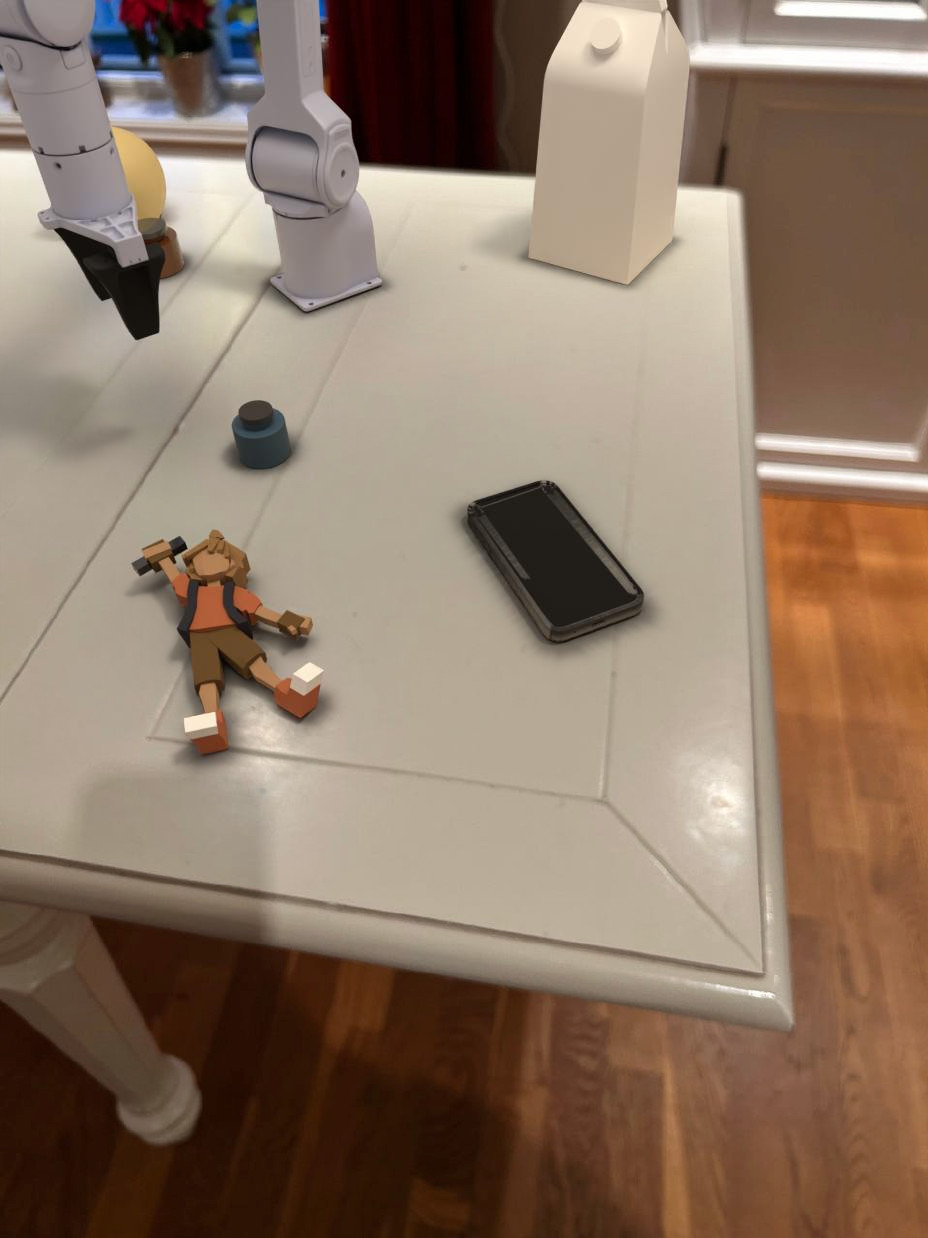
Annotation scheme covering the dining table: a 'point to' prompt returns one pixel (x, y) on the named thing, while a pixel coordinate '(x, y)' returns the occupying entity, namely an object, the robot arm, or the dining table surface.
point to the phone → (554, 560)
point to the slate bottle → (261, 435)
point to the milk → (610, 140)
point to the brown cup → (163, 243)
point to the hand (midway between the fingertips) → (128, 314)
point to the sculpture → (141, 173)
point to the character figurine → (226, 631)
